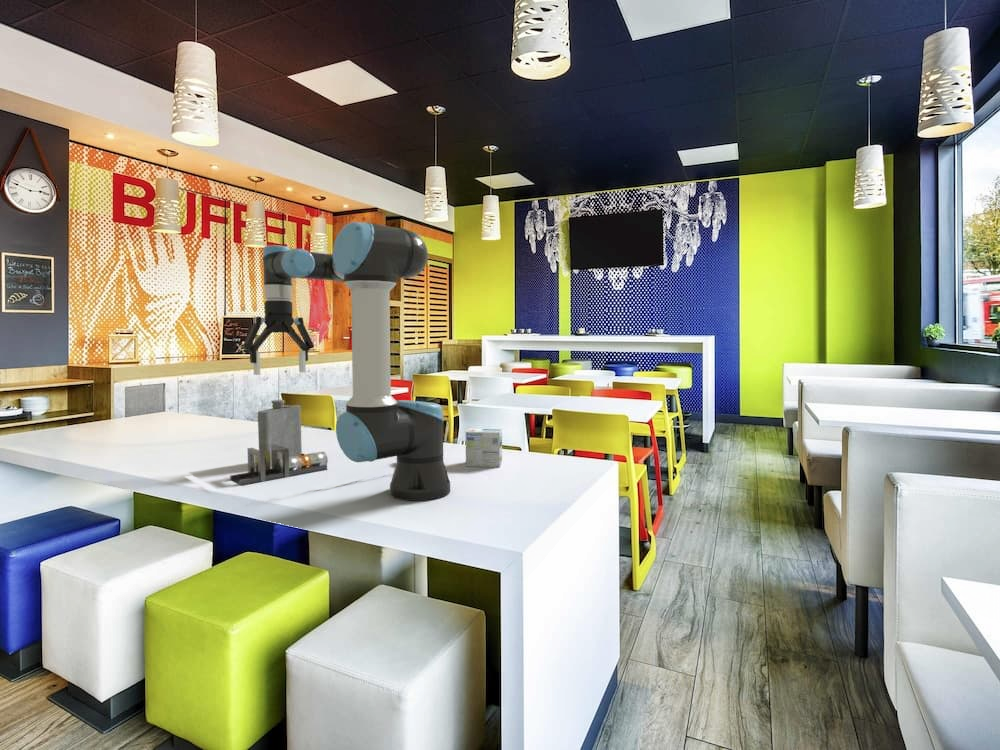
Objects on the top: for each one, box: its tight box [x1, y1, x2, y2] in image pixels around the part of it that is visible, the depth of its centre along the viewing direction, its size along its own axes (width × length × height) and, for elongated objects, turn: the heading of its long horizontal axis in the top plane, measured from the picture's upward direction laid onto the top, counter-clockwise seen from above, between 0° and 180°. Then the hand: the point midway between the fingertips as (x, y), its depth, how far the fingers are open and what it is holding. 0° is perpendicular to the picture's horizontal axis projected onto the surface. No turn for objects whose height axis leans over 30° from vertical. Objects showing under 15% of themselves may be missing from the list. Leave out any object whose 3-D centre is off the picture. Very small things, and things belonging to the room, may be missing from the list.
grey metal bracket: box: [246, 444, 290, 483], centre depth 152 cm, size 8×8×8 cm
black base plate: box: [229, 464, 329, 487], centre depth 155 cm, size 24×8×2 cm, turn 135°
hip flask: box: [257, 399, 303, 469], centre depth 167 cm, size 16×4×20 cm, turn 159°
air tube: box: [277, 451, 329, 473], centre depth 159 cm, size 13×4×5 cm, turn 135°
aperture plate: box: [254, 451, 271, 471], centre depth 156 cm, size 4×1×7 cm, turn 136°
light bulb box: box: [465, 428, 503, 468], centre depth 171 cm, size 11×7×11 cm, turn 84°
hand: (280, 373), depth 165 cm, fingers open, 13 cm apart
